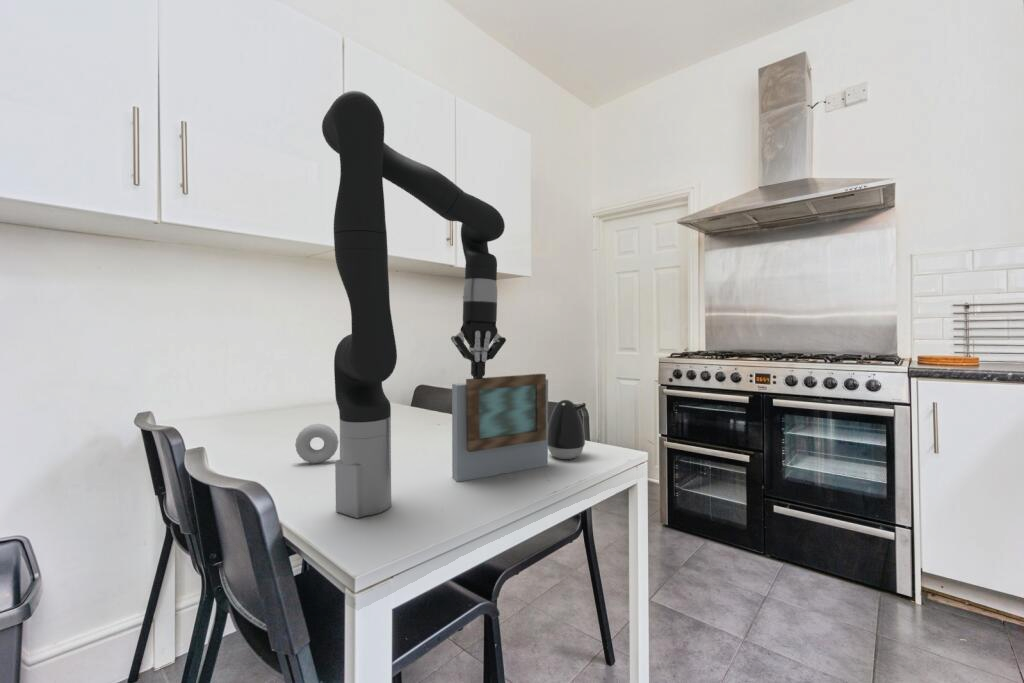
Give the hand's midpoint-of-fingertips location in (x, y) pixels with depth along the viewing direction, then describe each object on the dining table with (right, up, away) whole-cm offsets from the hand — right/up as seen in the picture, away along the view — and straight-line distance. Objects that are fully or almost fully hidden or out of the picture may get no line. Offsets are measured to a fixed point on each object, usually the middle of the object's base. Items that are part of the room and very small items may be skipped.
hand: (477, 378), depth 98 cm
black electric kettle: (+22, -23, +19) cm, 37 cm away
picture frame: (+7, -16, +4) cm, 18 cm away
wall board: (+5, -23, +7) cm, 24 cm away
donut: (-41, -23, +13) cm, 49 cm away
